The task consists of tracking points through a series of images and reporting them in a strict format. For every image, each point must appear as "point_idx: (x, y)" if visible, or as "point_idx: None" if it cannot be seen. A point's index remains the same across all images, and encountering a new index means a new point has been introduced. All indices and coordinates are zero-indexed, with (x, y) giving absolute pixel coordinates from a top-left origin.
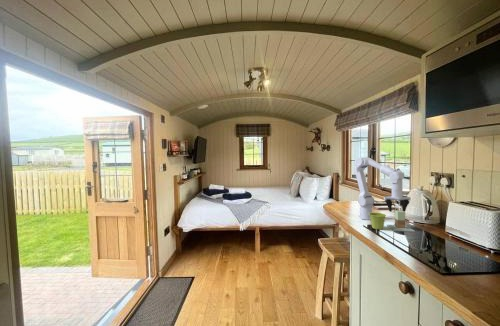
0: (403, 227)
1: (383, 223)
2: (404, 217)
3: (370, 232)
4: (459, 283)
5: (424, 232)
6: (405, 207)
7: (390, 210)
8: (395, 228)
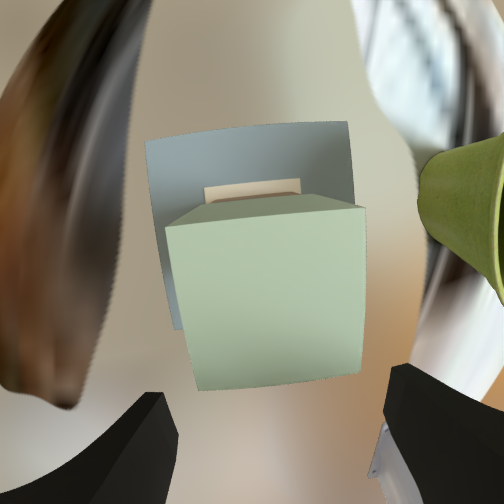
0: (232, 198)
1: (455, 159)
2: (205, 208)
3: (495, 84)
4: None
5: (77, 156)
6: (106, 450)
7: (421, 370)
8: (317, 181)
